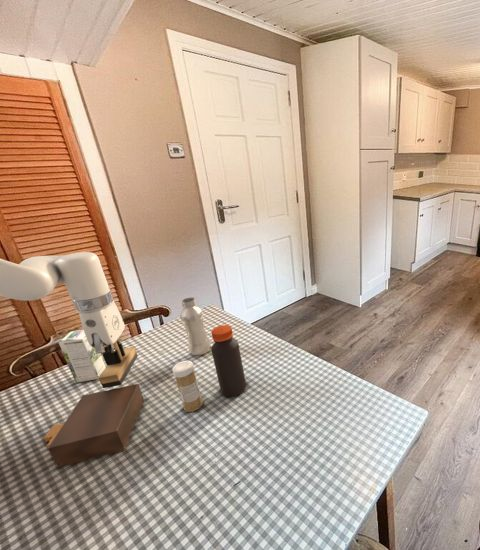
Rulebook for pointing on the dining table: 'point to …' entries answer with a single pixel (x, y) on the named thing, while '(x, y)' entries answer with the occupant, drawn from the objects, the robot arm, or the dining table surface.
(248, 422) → the dining table surface
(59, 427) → the crust
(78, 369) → the syrup box
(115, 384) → the brush
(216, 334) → the vinegar
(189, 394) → the sprinkles bottle
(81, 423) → the brown box
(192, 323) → the plastic bottle
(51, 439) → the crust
